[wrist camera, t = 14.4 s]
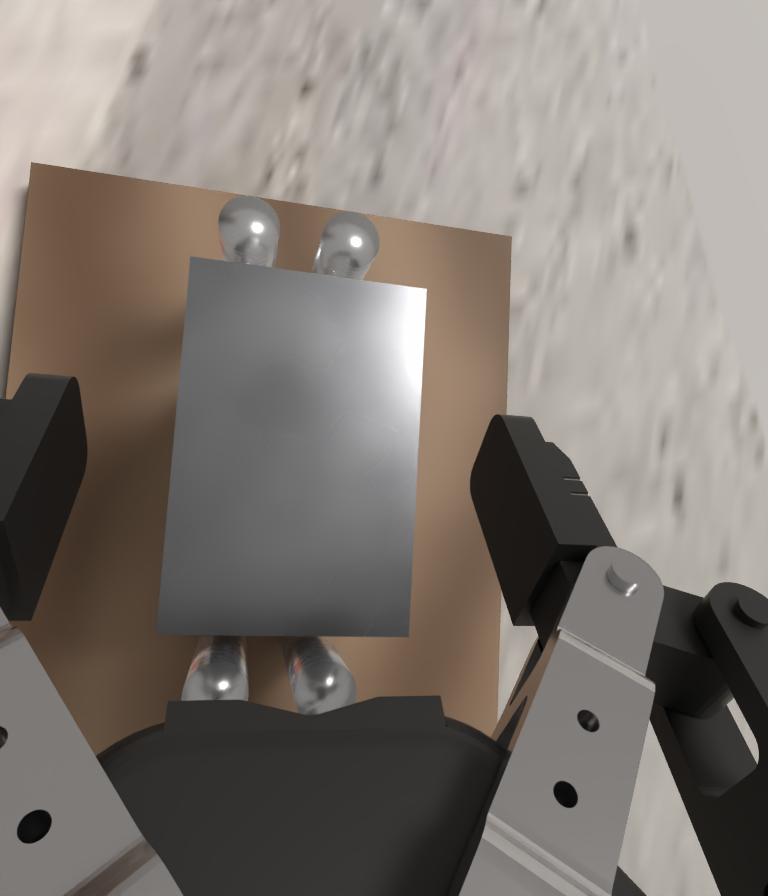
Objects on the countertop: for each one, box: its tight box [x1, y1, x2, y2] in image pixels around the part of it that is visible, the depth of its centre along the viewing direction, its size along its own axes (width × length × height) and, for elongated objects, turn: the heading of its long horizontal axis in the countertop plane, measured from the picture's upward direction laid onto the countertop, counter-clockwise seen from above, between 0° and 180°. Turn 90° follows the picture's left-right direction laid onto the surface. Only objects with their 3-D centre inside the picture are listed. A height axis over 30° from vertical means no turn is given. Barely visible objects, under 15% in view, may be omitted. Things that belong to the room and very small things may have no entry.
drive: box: [156, 256, 427, 637], centre depth 15 cm, size 4×6×10 cm, turn 177°
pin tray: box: [6, 162, 512, 756], centre depth 17 cm, size 16×18×7 cm
